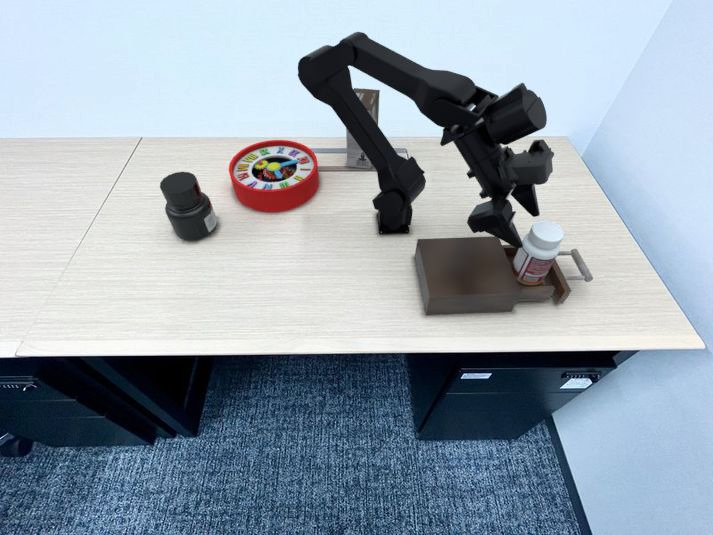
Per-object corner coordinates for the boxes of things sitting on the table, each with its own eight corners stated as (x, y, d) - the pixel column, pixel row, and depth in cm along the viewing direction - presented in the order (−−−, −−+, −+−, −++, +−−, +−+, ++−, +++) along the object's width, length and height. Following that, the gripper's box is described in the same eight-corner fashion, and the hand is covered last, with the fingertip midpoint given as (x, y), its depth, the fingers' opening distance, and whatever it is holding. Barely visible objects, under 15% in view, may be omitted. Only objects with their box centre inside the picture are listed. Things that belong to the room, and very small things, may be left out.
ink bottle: (224, 234, 84) (208, 188, 75) (182, 249, 81) (160, 204, 72) (210, 207, 89) (193, 162, 80) (170, 221, 86) (148, 176, 77)
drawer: (564, 252, 80) (572, 238, 77) (591, 302, 72) (601, 289, 68) (467, 255, 79) (471, 241, 76) (483, 307, 71) (489, 293, 68)
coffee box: (353, 146, 105) (353, 86, 93) (377, 149, 105) (380, 89, 92) (346, 166, 100) (345, 105, 87) (371, 170, 99) (373, 108, 87)
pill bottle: (550, 276, 74) (575, 232, 66) (529, 292, 72) (553, 249, 63) (522, 256, 77) (543, 212, 69) (502, 271, 75) (521, 228, 66)
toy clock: (219, 152, 93) (299, 132, 99) (225, 173, 98) (301, 152, 104) (242, 202, 82) (331, 176, 88) (248, 223, 86) (332, 197, 92)
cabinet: (490, 255, 80) (498, 236, 76) (511, 311, 71) (521, 292, 67) (414, 258, 80) (417, 238, 75) (425, 315, 71) (429, 296, 66)
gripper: (509, 165, 52) (561, 256, 56) (549, 106, 62) (591, 187, 67) (443, 191, 61) (493, 268, 65) (488, 136, 71) (528, 206, 75)
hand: (528, 231), depth 68 cm, fingers open, 9 cm apart
